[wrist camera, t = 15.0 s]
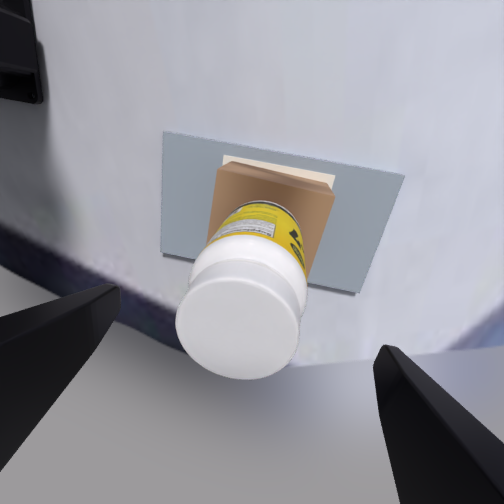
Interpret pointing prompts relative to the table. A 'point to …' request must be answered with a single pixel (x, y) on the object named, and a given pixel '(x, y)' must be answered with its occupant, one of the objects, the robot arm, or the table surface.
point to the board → (334, 174)
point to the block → (273, 200)
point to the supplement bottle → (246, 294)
